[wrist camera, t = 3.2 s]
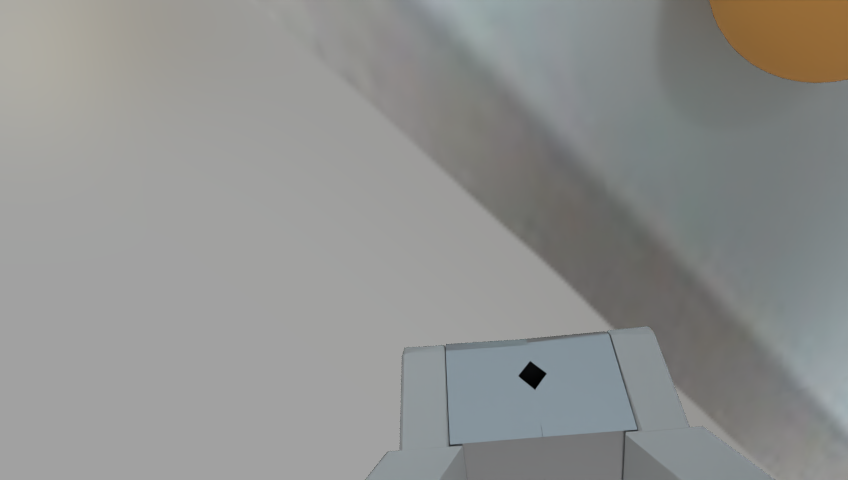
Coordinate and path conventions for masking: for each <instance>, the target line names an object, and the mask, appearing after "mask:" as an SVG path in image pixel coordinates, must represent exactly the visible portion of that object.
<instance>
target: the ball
mask: <svg viewBox="0 0 848 480" xmlns="http://www.w3.org/2000/svg"><path fill="white" fill-rule="evenodd" d="M709 1H710V5H711V9H712V12H713V16H714V18H715V20H716V23H717V25H718V27H719V29H720V30H721V32H722V33H723V35H724V36H725V38H726V39H727V41H728V42H729V44H730V45H731V46H732V47H733V48H734V49H735V50H736V51H737V52H738V53H739V54H740V55H741V56H743V57H744V58H745V59H746V60H748V61H749V62H750V63H751V64H753V65H755V66H756V67H758V68H760V69H762V70H764V71H766V72H768V73H770V74H773V75H776V76H778V77H781V78H785V79H790V80H794V81H800V82H812V83H821V82H834V81H841V80H847V79H848V0H709Z"/></svg>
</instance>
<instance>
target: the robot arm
mask: <svg viewBox="0 0 848 480" xmlns="http://www.w3.org/2000/svg"><path fill="white" fill-rule="evenodd" d="M365 480H775V479H774V478H772V477H771V476H770V475H768V474H767V473H765V472H764V471H763V470H761V469H760V468H759V467H757V466H756V465H755V464H753V463H752V462H751V461H749V460H748V459H747V458H745V457H744V456H742V455H741V454H740V453H738V452H737V451H736V450H734V449H733V448H732V447H730V446H729V445H727V444H726V443H725V442H723V441H722V440H721V439H719V438H718V437H716V436H715V435H714V434H712V433H711V432H710V431H708V430H707V429H706V428H704V427H690V426H689V424H688V421H687V419H686V416H685V413H684V410H683V408H682V405H681V402H680V400H679V397H678V394H677V392H676V389H675V387H674V384H673V381H672V379H671V376H670V373H669V371H668V368H667V365H666V363H665V360H664V357H663V355H662V352H661V349H660V347H659V344H658V342H657V339H656V336H655V334H654V331H653V330H652V329H650V328H649V327H648V326H647V327H637V328H627V329H618V330H608V331H607V332H594V333H583V334H573V335H562V336H552V337H542V338H532V339H520V340H504V341H490V342H473V343H458V344H446V347H445V346H444V345H440V346H424V347H407V348H405V349H404V352H403V355H402V379H401V419H400V451H390V452H387V453H386V454H385V455H384V457H383V458H382V459H381V460H380V462H379V463H378V464H377V465H376V467H375V468H374V469H373V470H372V472H371V473H370V474H369V475H368V477H367V478H366V479H365Z"/></svg>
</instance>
